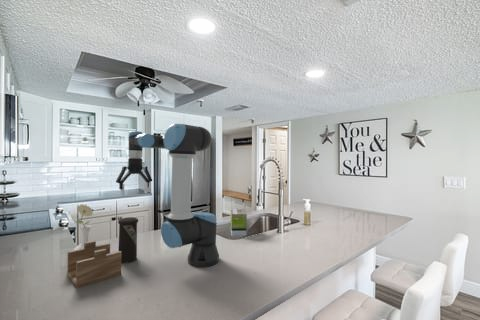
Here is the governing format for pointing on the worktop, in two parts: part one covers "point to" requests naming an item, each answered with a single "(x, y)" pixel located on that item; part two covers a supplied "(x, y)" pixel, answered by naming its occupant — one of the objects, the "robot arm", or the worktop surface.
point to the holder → (93, 264)
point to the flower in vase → (85, 229)
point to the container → (128, 239)
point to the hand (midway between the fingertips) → (134, 194)
